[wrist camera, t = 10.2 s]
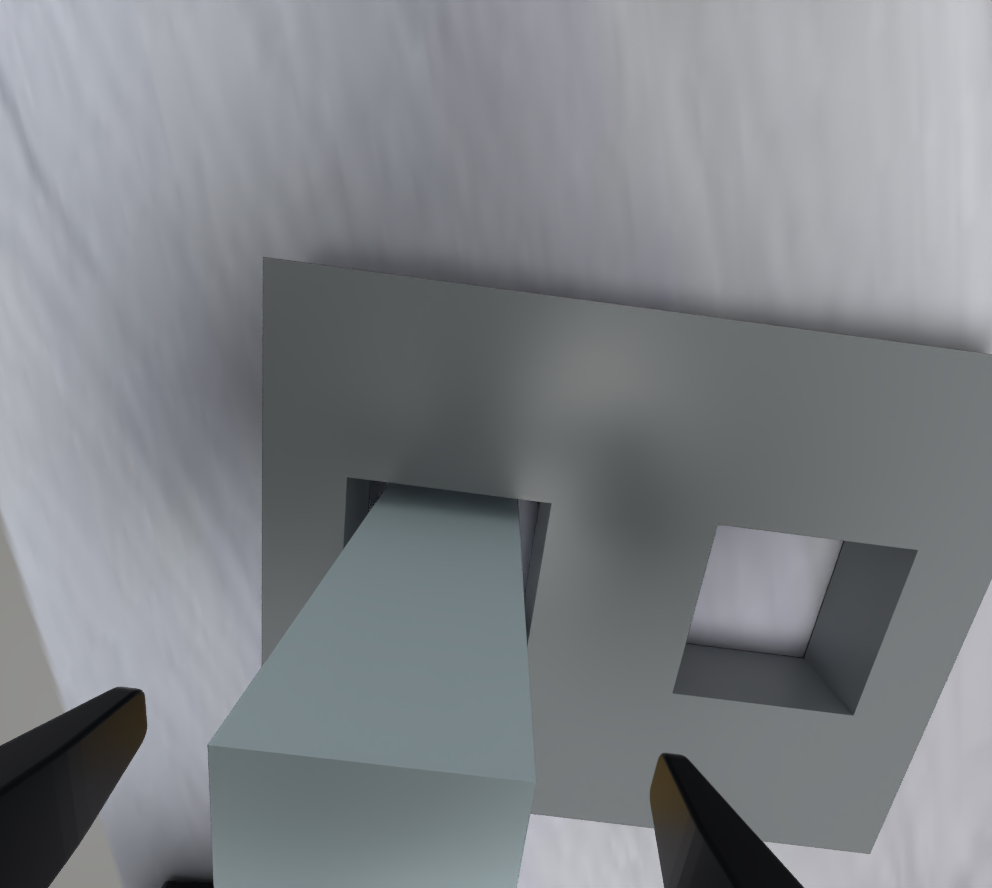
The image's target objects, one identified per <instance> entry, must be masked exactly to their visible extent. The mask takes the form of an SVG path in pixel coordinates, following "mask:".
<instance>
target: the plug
mask: <svg viewBox="0 0 992 888" xmlns="http://www.w3.org/2000/svg"><path fill="white" fill-rule="evenodd" d="M208 765H209V789H210V813H211V837H212V861H213V885H214V888H517V883H518V877H519V872H520V867H521V861H522V856H523V850H524V845H525V839H526V834H527V828H528V823H529V817H530V812H531V806H532V801H533V795H534V790H535V784H536V777H535V762H534V746H533V730H532V715H531V699H530V683H529V668H528V652H527V636H526V621H525V605H524V589H523V574H522V558H521V543H520V527H519V511H518V499H514V498H506V497H498V496H490V495H483V494H475V493H467V492H459V491H451V490H443V489H436V488H428V487H420V486H412V485H404V484H397V483H389V484H388V486H387V487H386V489H385V490H384V491H383V493H382V494H381V496H380V497H379V499H378V500H377V502H376V503H375V504H374V506H373V507H372V509H371V510H370V512H369V513H368V515H367V516H366V517H365V519H364V520H363V522H362V523H361V525H360V526H359V527H358V529H357V530H356V532H355V533H354V535H353V536H352V538H351V539H350V540H349V542H348V543H347V545H346V546H345V548H344V549H343V551H342V552H341V553H340V555H339V556H338V558H337V559H336V561H335V562H334V564H333V565H332V566H331V568H330V569H329V571H328V572H327V574H326V575H325V577H324V578H323V579H322V581H321V582H320V584H319V585H318V587H317V588H316V589H315V591H314V592H313V594H312V595H311V597H310V598H309V600H308V601H307V602H306V604H305V605H304V607H303V608H302V610H301V611H300V613H299V614H298V615H297V617H296V618H295V620H294V621H293V623H292V624H291V626H290V627H289V628H288V630H287V631H286V633H285V634H284V636H283V637H282V639H281V640H280V641H279V643H278V644H277V646H276V647H275V649H274V650H273V652H272V653H271V654H270V656H269V657H268V659H267V660H266V662H265V663H264V664H263V666H262V667H261V669H260V670H259V672H258V673H257V675H256V676H255V677H254V679H253V680H252V682H251V683H250V685H249V686H248V688H247V689H246V690H245V692H244V693H243V695H242V696H241V698H240V699H239V701H238V702H237V703H236V705H235V706H234V708H233V709H232V711H231V712H230V714H229V715H228V716H227V718H226V719H225V721H224V722H223V724H222V725H221V726H220V728H219V729H218V731H217V732H216V734H215V735H214V737H213V738H212V739H211V741H210V742H209V744H208Z"/></svg>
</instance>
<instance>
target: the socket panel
mask: <svg viewBox="0 0 992 888" xmlns="http://www.w3.org/2000/svg"><path fill="white" fill-rule="evenodd" d="M370 480H373V481H381V482H389V483H397V484H404V485H412V486H420V487H428V488H436V489H443V490H451V491H459V492H467V493H475V494H483V495H490V496H498V497H506V498H514V499H522V500H530V501H537V502H540V505H539V511H538V517H537V523H536V529H535V535H534V542H533V548H532V554H531V560H530V566H529V572H528V578H527V585H526V591H525V597H524V605H525V621H526V636H527V652H528V668H529V683H530V699H531V715H532V730H533V746H534V762H535V777H536V784H535V790H534V795H533V801H532V806H531V812H530V814H538V815H546V816H555V817H563V818H571V819H580V820H588V821H597V822H605V823H614V824H622V825H630V826H639V827H647V828H654V824H653V818H652V812H651V806H650V787H651V783H652V779H653V776H654V772H655V768H656V765H657V761H658V758H659V756H660V755H661V754H662V753H672V754H680V755H684V756H685V757H687V758H688V759H689V760H690V761H691V762H692V763H693V765H694V766H695V767H696V768H697V769H698V770H699V771H700V772H701V773H702V775H703V776H704V777H705V778H706V779H707V780H708V781H709V782H710V783H711V785H712V786H713V787H714V788H715V789H716V790H717V791H718V792H719V794H720V795H721V796H722V797H723V798H724V799H725V800H726V801H727V802H728V804H729V805H730V806H731V807H732V808H733V809H734V810H735V811H736V812H737V814H738V815H739V816H740V817H741V818H742V819H743V820H744V821H745V822H746V824H747V825H748V826H749V827H750V828H751V829H752V830H753V831H754V833H755V834H756V835H757V836H758V837H759V838H760V839H761V840H762V841H765V842H773V843H782V844H790V845H798V846H807V847H815V848H824V849H832V850H841V851H849V852H857V853H866V854H870V853H871V850H872V848H873V846H874V844H875V841H876V839H877V837H878V835H879V832H880V830H881V828H882V826H883V823H884V821H885V819H886V817H887V814H888V812H889V810H890V807H891V805H892V803H893V801H894V798H895V796H896V794H897V792H898V789H899V787H900V785H901V783H902V780H903V778H904V776H905V774H906V771H907V769H908V767H909V765H910V762H911V760H912V758H913V755H914V753H915V751H916V749H917V746H918V744H919V742H920V740H921V737H922V735H923V733H924V731H925V728H926V726H927V724H928V722H929V719H930V717H931V715H932V713H933V710H934V708H935V706H936V703H937V701H938V699H939V697H940V694H941V692H942V690H943V688H944V685H945V683H946V681H947V679H948V676H949V674H950V672H951V670H952V667H953V665H954V663H955V661H956V658H957V656H958V654H959V651H960V649H961V647H962V645H963V642H964V640H965V638H966V636H967V633H968V631H969V629H970V627H971V624H972V622H973V620H974V618H975V615H976V613H977V611H978V609H979V606H980V604H981V602H982V599H983V597H984V595H985V593H986V590H987V588H988V586H989V584H990V581H991V579H992V354H985V353H978V352H970V351H963V350H955V349H948V348H940V347H933V346H925V345H918V344H910V343H903V342H895V341H888V340H880V339H873V338H865V337H858V336H850V335H843V334H836V333H828V332H821V331H813V330H806V329H798V328H791V327H783V326H776V325H768V324H761V323H753V322H746V321H738V320H731V319H723V318H716V317H708V316H701V315H693V314H686V313H678V312H671V311H664V310H656V309H649V308H641V307H634V306H626V305H619V304H611V303H604V302H596V301H589V300H581V299H574V298H566V297H559V296H551V295H544V294H536V293H529V292H521V291H514V290H506V289H499V288H492V287H484V286H477V285H469V284H462V283H454V282H447V281H439V280H432V279H424V278H417V277H409V276H402V275H394V274H387V273H379V272H372V271H364V270H357V269H349V268H342V267H334V266H327V265H320V264H312V263H305V262H297V261H290V260H282V259H275V258H267V257H263V401H262V666H263V664H264V663H265V662H266V660H267V659H268V657H269V656H270V654H271V653H272V652H273V650H274V649H275V647H276V646H277V644H278V643H279V641H280V640H281V639H282V637H283V636H284V634H285V633H286V631H287V630H288V628H289V627H290V626H291V624H292V623H293V621H294V620H295V618H296V617H297V615H298V614H299V613H300V611H301V610H302V608H303V607H304V605H305V604H306V602H307V601H308V600H309V598H310V597H311V595H312V594H313V592H314V591H315V589H316V588H317V587H318V585H319V584H320V582H321V581H322V579H323V578H324V577H325V575H326V574H327V572H328V571H329V569H330V568H331V566H332V565H333V564H334V562H335V561H336V559H337V558H338V556H339V555H340V553H341V552H342V551H343V549H344V548H345V546H346V545H347V543H348V542H349V540H350V539H351V538H352V536H353V535H354V533H355V532H356V530H357V529H358V527H359V526H360V525H361V523H362V522H363V520H364V519H365V517H366V516H367V515H368V506H369V491H370ZM717 525H725V526H733V527H741V528H749V529H756V530H764V531H772V532H780V533H788V534H796V535H803V536H811V537H819V538H827V539H835V540H842V541H844V544H843V547H842V549H841V552H840V555H839V558H838V561H837V564H836V567H835V570H834V573H833V576H832V578H831V581H830V584H829V587H828V590H827V593H826V596H825V599H824V602H823V604H822V607H821V610H820V613H819V616H818V619H817V622H816V625H815V628H814V630H813V633H812V636H811V639H810V642H809V645H808V648H807V651H806V654H805V656H804V658H796V657H788V656H780V655H772V654H764V653H756V652H748V651H740V650H732V649H724V648H716V647H708V646H700V645H692V644H686V640H687V637H688V633H689V629H690V626H691V622H692V618H693V614H694V611H695V607H696V603H697V600H698V596H699V592H700V588H701V585H702V581H703V577H704V573H705V570H706V566H707V562H708V559H709V555H710V551H711V547H712V544H713V540H714V536H715V532H716V529H717Z"/></svg>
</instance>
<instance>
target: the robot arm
mask: <svg viewBox="0 0 992 888" xmlns="http://www.w3.org/2000/svg"><path fill="white" fill-rule="evenodd" d="M146 731H147V717H146V704H145V694H144V692H143V691H142V690H140V689H136V688H128V687H116V688H113V689H111V690H109V691H107V692H105V693H103V694H101V695H99V696H97V697H95V698H93V699H91V700H89V701H87V702H85V703H83V704H81V705H79V706H77V707H75V708H73V709H71V710H70V711H68V712H66V713H64V714H62V715H60V716H58V717H56V718H54V719H52V720H50V721H48V722H46V723H44V724H42V725H40V726H38V727H36V728H34V729H33V730H30V731H28V732H26V733H24V734H22V735H20V736H18V737H17V738H15V739H13V740H11V741H9V742H7V743H5V744H3V745H1V746H0V888H48V887H49V886H50V884H51V883H52V882H53V880H54V879H55V877H56V876H57V875H58V873H59V872H60V871H61V869H62V868H63V866H64V865H65V864H66V862H67V861H68V859H69V858H70V857H71V855H72V854H73V852H74V851H75V850H76V848H77V847H78V845H79V844H80V842H81V841H82V839H83V838H84V836H85V835H86V833H87V831H88V830H89V828H90V827H91V825H92V824H93V822H94V820H95V819H96V817H97V815H98V814H99V812H100V811H101V809H102V807H103V806H104V804H105V802H106V801H107V799H108V798H109V796H110V794H111V793H112V791H113V789H114V788H115V786H116V785H117V783H118V781H119V780H120V778H121V776H122V775H123V773H124V772H125V770H126V768H127V767H128V765H129V763H130V762H131V760H132V759H133V757H134V755H135V754H136V752H137V750H138V749H139V747H140V746H141V744H142V742H143V740H144V738H145V735H146ZM650 806H651V812H652V818H653V824H654V830H655V836H656V842H657V847H658V853H659V859H660V865H661V871H662V877H663V883H664V888H804V887H803V886H802V885H801V884H800V883H799V882H798V880H797V879H796V878H795V877H794V876H793V875H792V874H791V873H790V872H789V870H788V869H787V868H786V867H785V866H784V865H783V864H782V863H781V861H780V860H779V859H778V858H777V857H776V856H775V855H774V854H773V853H772V851H771V850H770V849H769V848H768V847H767V846H766V845H765V844H764V843H763V841H762V840H761V839H760V838H759V837H758V836H757V835H756V834H755V833H754V831H753V830H752V829H751V828H750V827H749V826H748V825H747V824H746V822H745V821H744V820H743V819H742V818H741V817H740V816H739V815H738V814H737V812H736V811H735V810H734V809H733V808H732V807H731V806H730V805H729V804H728V802H727V801H726V800H725V799H724V798H723V797H722V796H721V795H720V794H719V792H718V791H717V790H716V789H715V788H714V787H713V786H712V785H711V783H710V782H709V781H708V780H707V779H706V778H705V777H704V776H703V775H702V773H701V772H700V771H699V770H698V769H697V768H696V767H695V766H694V765H693V763H692V762H691V761H690V760H689V759H688V758H687V757H685V756H684V755H680V754H672V753H662V754H661V755H660V756H659V758H658V761H657V765H656V768H655V772H654V776H653V779H652V783H651V787H650ZM161 888H214V885H207V884H199V883H190V882H181V881H167V882H165V883H164V884H163V885H162V887H161Z"/></svg>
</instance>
